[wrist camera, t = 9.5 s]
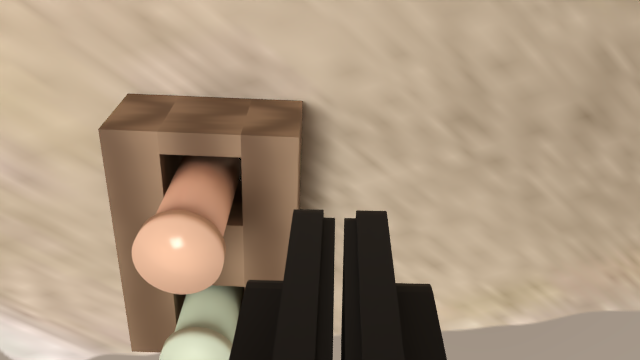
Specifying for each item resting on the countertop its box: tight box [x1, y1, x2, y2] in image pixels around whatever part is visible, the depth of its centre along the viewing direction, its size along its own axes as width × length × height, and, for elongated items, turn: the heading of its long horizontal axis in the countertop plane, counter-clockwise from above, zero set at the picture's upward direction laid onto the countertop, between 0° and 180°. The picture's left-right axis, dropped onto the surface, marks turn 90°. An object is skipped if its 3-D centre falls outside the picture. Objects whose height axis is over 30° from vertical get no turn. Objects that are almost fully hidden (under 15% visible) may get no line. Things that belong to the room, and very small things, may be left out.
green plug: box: [159, 285, 244, 360], centre depth 43 cm, size 5×5×10 cm
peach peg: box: [132, 155, 241, 294], centre depth 36 cm, size 5×5×10 cm
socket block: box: [98, 94, 303, 352], centre depth 43 cm, size 12×18×6 cm, turn 178°
